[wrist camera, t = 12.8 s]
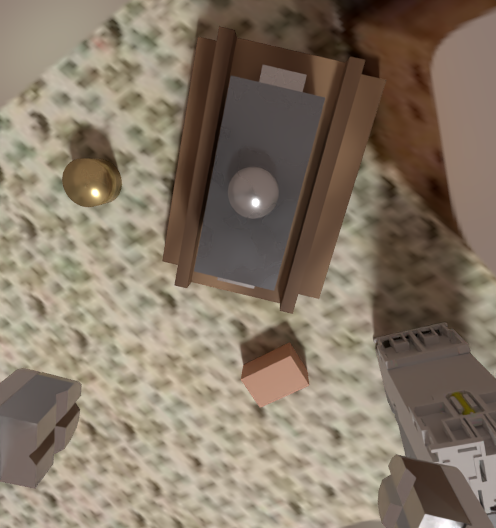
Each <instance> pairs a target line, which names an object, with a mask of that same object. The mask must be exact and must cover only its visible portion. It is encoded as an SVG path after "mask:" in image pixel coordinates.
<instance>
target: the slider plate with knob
mask: <svg viewBox="0 0 496 528" xmlns="http://www.w3.org/2000/svg"><path fill="white" fill-rule="evenodd" d="M306 76H307V75H305V74H301V73H297V72H292V71H288V70H284V69H280V68H275V67H271V66H267V65H263V66H262V71H261V75H260V80H259V82H257V81H252V80H248V79H244V78H240V77H235V76H231V77H230V83H229V88H228V93H227V98H226V104H225V109H224V114H223V120H222V125H221V130H220V136H219V141H218V146H217V151H216V157H215V162H214V167H213V173H212V178H211V183H210V188H209V194H208V199H207V204H206V210H205V215H204V220H203V226H202V231H201V236H200V241H199V247H198V252H197V257H196V263H195V268H194V272H198V273H203V274H207V275H211V276H215V277H218V279H217V280H219V281H223V282H228V283H232V284H236V285H240V286H244V287H248V288H252V289H254V287H255V286H256V287H261V288H265V289H269V290H273V291H274V290H275V286H276V282H277V279H278V275H279V271H280V267H281V263H282V260H283V256H284V252H285V248H286V245H287V241H288V237H289V233H290V230H291V226H292V222H293V218H294V215H295V211H296V207H297V203H298V200H299V196H300V192H301V188H302V184H303V181H304V177H305V173H306V169H307V166H308V162H309V158H310V154H311V151H312V147H313V143H314V139H315V136H316V132H317V128H318V124H319V121H320V117H321V113H322V109H323V106H324V102H325V97H321V96H317V95H312V94H308V93H304V92H303V88H304V84H305V80H306Z"/></svg>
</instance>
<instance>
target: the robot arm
mask: <svg viewBox="0 0 496 528" xmlns="http://www.w3.org/2000/svg"><path fill="white" fill-rule="evenodd" d="M81 385H82V384H81V383H80V382H79V381H75V380H71V379H67V378H63V377H59V376H55V375H51V374H47V373H44V372H42V373H41V372H38V371H34V370H30V369H26V368H21V369H17V370H16V371H15V372H13V373H12V374H11V375H10V376H8V377H7V378H6V379H5V380H3V381H2V382H1V383H0V482H5V483H10V484H15V485H20V486H25V487H30V488H36V487H37V485H38V484H39V483H40V481H41V480H42V478H43V477H44V476H45V474H46V473H47V472H48V470H49V469H50V468H51V466H52V465H53V460H54V454H55V453H57V452H59V451H61V450H63V449H65V447H66V446H67V444H68V443H69V442H70V440H71V438H72V436H73V434H74V432H75V430H76V428H77V424H78V421H79V415H80V409H79V407H78V406H77V404H76V401H77V400H78V399H79V397H80V396H81ZM388 467H389V470H390V473H391V475H389V476H388V477H386V478H384V479H383V480H382V482H381V485H380V488H379V492H378V509H379V515H380V518H381V522H382V524H383V525H384V526H385V527H386V528H495V527H494V526H493V524H492V522H491V521H490V519H489V517H488V516H487V514H486V512H485V511H484V509H483V507H482V506H481V504H480V502H479V500H478V499H477V497H476V495H475V494H474V492H473V490H472V489H471V487H470V485H469V484H468V482H467V480H466V479H465V477H464V475H463V474H462V472H461V471H460V470H459V469H458V468H456V467H453V466H448V465H444V464H439V463H432V462H428V461H423V460H419V459H414V458H410V457H405V456H401V455H395V456H394V457H392V459H391V461H390V463H389V465H388Z"/></svg>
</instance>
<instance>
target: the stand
mask: <svg viewBox="0 0 496 528" xmlns="http://www.w3.org/2000/svg"><path fill="white" fill-rule="evenodd" d="M364 63H365V60H363V59H359V58H354V57H349V59H348V60H347V61H346V63H345V62H340V61H336V60H332V59H327V58H323V57H319V56H314V55H310V54H306V53H301V52H297V51H293V50H288V49H284V48H280V47H275V46H271V45H267V44H262V43H258V42H254V41H249V40H245V39H241V38H237V36H236V33H235V30H233V29H228V28H224V27H220V26H219V30H218V36H217V41H215V40H211V39H207V38H202V37H198V39H197V46H196V52H195V58H194V65H193V71H192V77H191V84H190V90H189V96H188V103H187V109H186V115H185V122H184V128H183V134H182V141H181V147H180V153H179V160H178V166H177V172H176V178H175V185H174V191H173V197H172V204H171V210H170V216H169V223H168V229H167V235H166V242H165V248H164V254H163V261H164V262H168V263H172V264H176V265H178V268H177V274H176V280H175V285H176V286H180V287H184V288H187V287H188V286H189V285H190V283H191V282H194V283H198V284H202V285H206V286H211V287H215V288H219V289H223V290H227V291H231V292H235V293H240V294H244V295H248V296H252V297H256V298H260V299H264V300H269V301H273V302H277V303H280V311H283V312H288V313H292V314H293V310H294V307H295V303H296V300H297V296H298V294H301V295H305V296H309V297H314V298H318V299H319V297H320V294H321V291H322V287H323V284H324V281H325V278H326V274H327V271H328V268H329V265H330V261H331V258H332V255H333V252H334V248H335V245H336V242H337V239H338V235H339V232H340V229H341V226H342V222H343V219H344V216H345V213H346V209H347V206H348V203H349V200H350V196H351V193H352V190H353V187H354V183H355V180H356V177H357V174H358V170H359V167H360V164H361V161H362V157H363V154H364V151H365V148H366V144H367V141H368V138H369V135H370V131H371V128H372V125H373V122H374V118H375V115H376V112H377V109H378V106H379V102H380V99H381V96H382V93H383V89H384V86H385V83H386V80H384V79H380V78H376V77H371V76H367V75H363V74H362V70H363V67H364ZM263 65H267V66H271V67H275V68H280V69H284V70H288V71H292V72H297V73H301V74H305V75H307V76H306V80H305V84H304V88H303V92H304V93H308V94H312V95H317V96H321V97H325V102H324V106H323V109H322V113H321V117H320V121H319V124H318V128H317V132H316V136H315V139H314V143H313V147H312V151H311V154H310V158H309V162H308V166H307V169H306V173H305V177H304V181H303V184H302V188H301V192H300V196H299V200H298V203H297V207H296V211H295V215H294V218H293V222H292V226H291V230H290V233H289V237H288V241H287V245H286V248H285V252H284V256H283V260H282V263H281V267H280V271H279V275H278V279H277V282H276V286H275V290H274V291H273V290H269V289H265V288H261V287H256V286H255V287H254V289H252V288H248V287H244V286H240V285H236V284H232V283H228V282H223V281H219V280H217V279H218V277H215V276H211V275H207V274H203V273H198V272H194V268H195V263H196V257H197V252H198V247H199V241H200V236H201V231H202V226H203V220H204V215H205V210H206V204H207V199H208V194H209V188H210V183H211V178H212V173H213V167H214V162H215V157H216V151H217V146H218V141H219V136H220V130H221V125H222V120H223V114H224V109H225V104H226V98H227V93H228V88H229V83H230V77H231V76H235V77H240V78H244V79H248V80H252V81H257V82H259V80H260V75H261V71H262V66H263Z"/></svg>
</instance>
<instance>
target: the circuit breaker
mask: <svg viewBox="0 0 496 528" xmlns="http://www.w3.org/2000/svg"><path fill="white" fill-rule="evenodd" d="M447 327H448V325H447V323H446V322H443V323H438V324H434V325H429V326H425V327H421V328H416V329H412V330H407V331H403V332H398V333H394V334H389V335H385V336H381V337H376V338H373V341H374V343H378V345H377V349H375V350H376V354H377V358H378V362H379V367H380V371H381V375H382V379H383V383H384V388H385V392H386V396H387V400H388V403H389V405H390V407H391V410H392V412H393V413H394V414H395V418H396V421H397V423H398V425H399V430H400V434H401V438H402V442H403V447H404V451H405V455H406V457H410V458H414V459H419V460H423V461H428V462H432V463H439V464H444V465H448V466H453V467H456V468H458V469H459V470H460V471H461V472H462V474H463V475H464V477H465V479H466V480H467V482H468V484H469V485H470V487H471V489H472V490H473V492H474V494H475V495H476V497H477V499H478V500H479V502H480V504H481V506H482V507H483V509H484V511H485V512H486V514H487V516H488V517H489V519H490V521H491V522H492V524H493V526H494V527H495V528H496V379H495V378H494V377H493V376H492V375H491V374H490V373H489V372H488V371H487V370H486V369H485V368H484V367H483V366H482V365H481V363H480V362H479V361H478V360H477V359H476V358H475V357H474V356H473V355H472V354H471V353H470V348H469V345H468V343H467V342H466V341H465V340H464V339H463V338H462V337H461V336H460V335H459V334H458V333H457V332H455V331H454V330H453V329H448V328H447ZM436 329H438V332H439V336H438V334H437V333H436V332H435V331H434V330H436ZM428 330H430V333H426V334H422V332H424V331H428ZM414 334H418V337H416V336H415V335H414ZM405 336H408V337H409V339H406V338H405ZM397 337H402V339H399V340H393V339H392V338H397ZM386 340H389V343H390V347H388V348H384V346H383V341H386Z"/></svg>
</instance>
